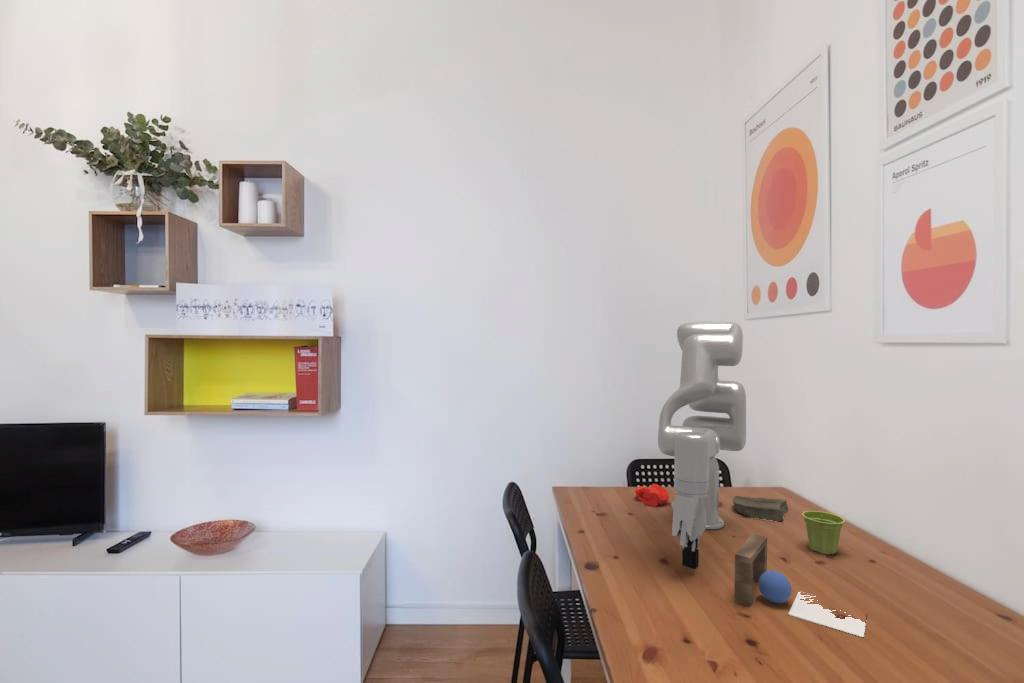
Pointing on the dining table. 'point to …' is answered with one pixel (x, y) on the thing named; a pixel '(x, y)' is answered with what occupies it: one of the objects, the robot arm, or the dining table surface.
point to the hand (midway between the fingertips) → (690, 566)
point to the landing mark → (825, 616)
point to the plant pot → (823, 531)
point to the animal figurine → (652, 495)
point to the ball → (774, 586)
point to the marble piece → (761, 507)
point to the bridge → (749, 567)
